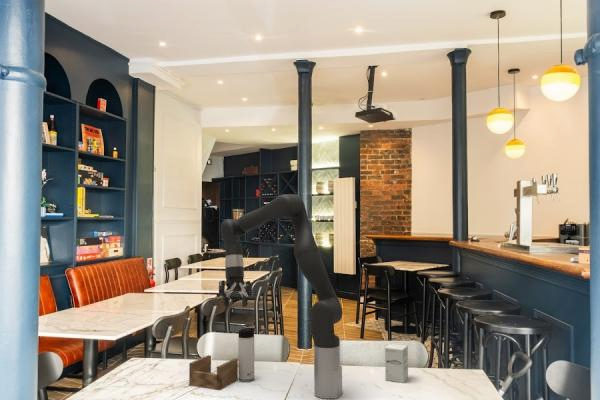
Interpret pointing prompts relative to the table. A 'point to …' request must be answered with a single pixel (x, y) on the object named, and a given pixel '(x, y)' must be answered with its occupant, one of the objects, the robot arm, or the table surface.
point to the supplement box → (396, 363)
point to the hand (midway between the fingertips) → (235, 306)
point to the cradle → (204, 377)
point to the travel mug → (246, 355)
